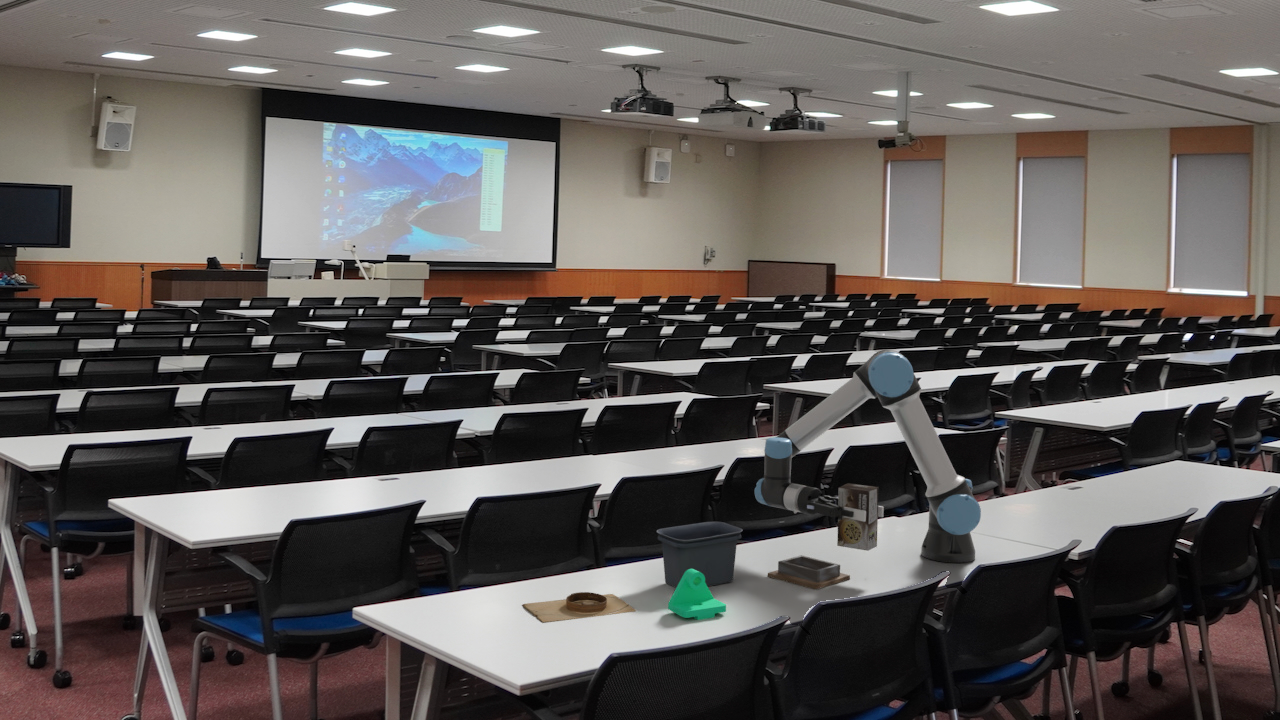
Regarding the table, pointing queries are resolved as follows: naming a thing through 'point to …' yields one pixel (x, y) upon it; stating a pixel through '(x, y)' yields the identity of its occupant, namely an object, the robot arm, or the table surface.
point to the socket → (808, 572)
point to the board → (578, 607)
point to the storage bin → (700, 551)
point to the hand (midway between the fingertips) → (873, 514)
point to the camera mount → (694, 598)
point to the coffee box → (855, 530)
